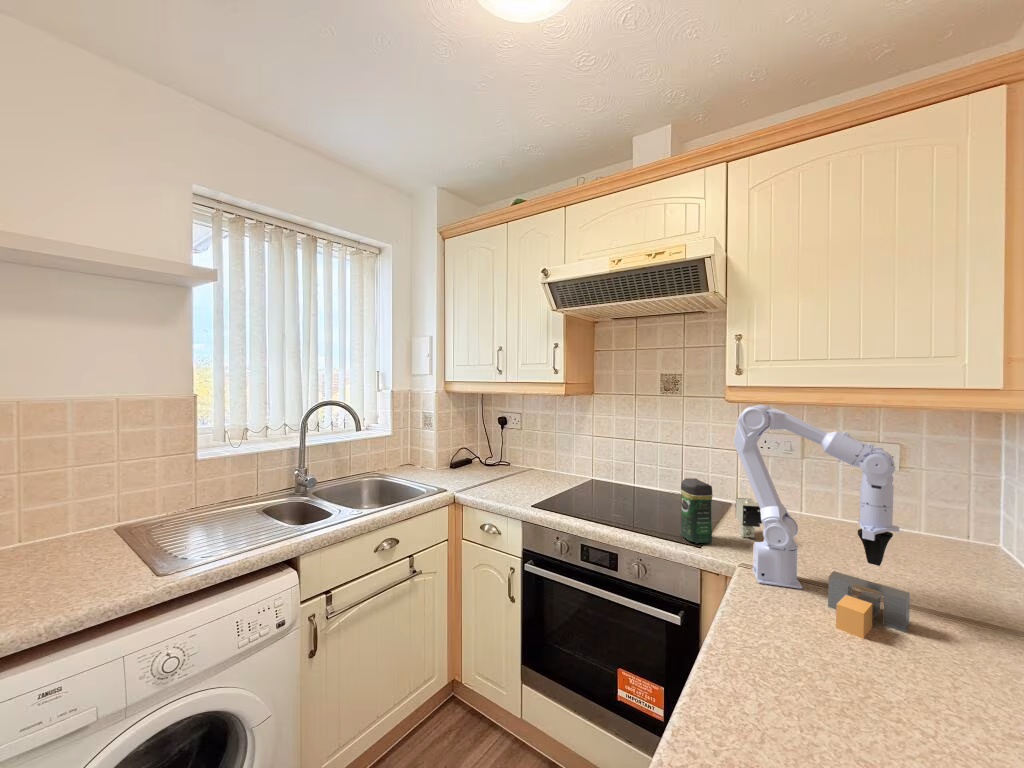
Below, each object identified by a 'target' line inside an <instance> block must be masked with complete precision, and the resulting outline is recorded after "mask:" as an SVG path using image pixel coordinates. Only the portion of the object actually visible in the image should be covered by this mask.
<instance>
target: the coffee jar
mask: <svg viewBox="0 0 1024 768" xmlns="http://www.w3.org/2000/svg"><path fill="white" fill-rule="evenodd" d="M680 485H681V486H680V496H681V505H680V506H681V509H680V527H679V533H680V534H679V535H680V536H681V535H682V536H683V537H684V538H683V537H682V536H681V537H682V538H683V539H685V538H686V539H687V540H689V541H692V542H695V543H694V544H698V543H707V544H710V543H711V542H712V541H713V534H712V533H713V531H712V530H713V529H712V528H713V527H712V503H713V502H712V500H713V487H712V485H710V484H708V483H706V482H704V481H702V480H700V479H698V478H695V477H692V478H684V479H683V480H681V484H680ZM686 539H685V540H686ZM687 540H686V541H687ZM689 541H688V542H689Z"/></svg>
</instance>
